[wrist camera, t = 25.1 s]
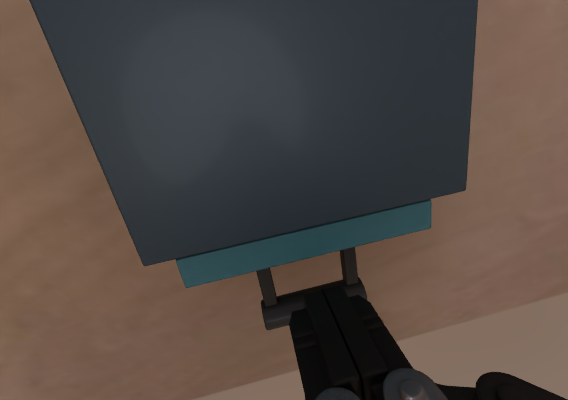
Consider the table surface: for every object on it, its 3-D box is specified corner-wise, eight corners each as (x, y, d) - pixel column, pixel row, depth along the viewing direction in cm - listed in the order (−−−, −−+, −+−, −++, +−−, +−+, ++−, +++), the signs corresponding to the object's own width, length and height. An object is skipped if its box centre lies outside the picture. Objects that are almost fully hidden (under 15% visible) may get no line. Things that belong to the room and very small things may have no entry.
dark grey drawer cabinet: (360, 148, 17) (466, 190, 9) (189, 185, 16) (143, 267, 8) (339, -122, 13) (511, -500, 5) (101, -91, 12) (-185, -493, 4)
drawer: (364, 246, 19) (430, 321, 12) (226, 280, 18) (220, 380, 11) (339, -54, 13) (439, -204, 6) (132, -23, 12) (15, -160, 6)
